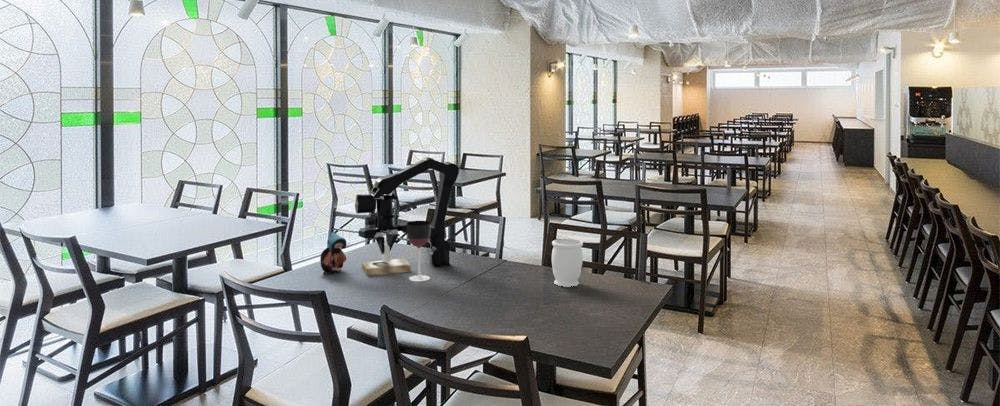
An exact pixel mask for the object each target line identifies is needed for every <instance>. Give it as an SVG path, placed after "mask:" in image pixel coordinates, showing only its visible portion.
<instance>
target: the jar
mask: <svg viewBox="0 0 1000 406" xmlns="http://www.w3.org/2000/svg"><path fill="white" fill-rule="evenodd" d="M551 245H552V246H553V248H552V251H551V266H552V274H553V276H554V281H553V283H554V285H555V284H556V285H555V286H557V285H558V286H557V287H561V286H563V288H574V287H573V286H575V287H578V286H579V285H580V282H579V279H580V276H581V271H582V267H583V261H584V258H583V250H582V247H583V246H584V242H583V241H582V240H579V239H574V238H573V239H572V238H560V239H559V238H558V239H554V240H552V241H551ZM578 284H579V285H578ZM571 286H572V287H571Z"/></svg>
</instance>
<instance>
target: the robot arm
mask: <svg viewBox="0 0 1000 406" xmlns="http://www.w3.org/2000/svg"><path fill="white" fill-rule="evenodd" d="M428 170H433V171H436V172H438V173H439V174H438V175H439V176H438V179H439V183H440V184H439V189H438V193H437V199H436V202H435V203H436V204H435V209H434V214H433V219H432V221H431V222H430V235H429V239H428V241H427V243H428V244H430V246H431V252H430V253H429V262H430V264H431V266H432V267H434V268H439V267H441V268H442V267H448V266H451V262H450V251H451V244H450V243H449V242H448V241H447V240H446V229H445V228H446V227H445V222H446V217H447V213H448V208H449V203H450V198H451V193H452V188H453V186H454V184H455V183H456V181H457V179H458V176H459V174H460V168H459V167H458V165H457V164H455V163H453V162H450V161H444V162H441V161H438V160H435V159H434V158H432V157H424V158H423V159H421V160H419V161H417V162H415V163H413V164H411V165H409V166H407V167H405V168H403V169H401V170H399V171H398V172H395V173H391V174H387V175H386V174H385V175H383V176H379V177H378V178H377V179H375V182H374V187H372V189H371V191H370V192H369V194H359V193H358V194H356V195H355V196H356V197H355V202H354V209H355V212H356V214H368V213H370V214H372V213H374V211H376V213H375V214H374V218H373V217H372V216H367V217H365V226H366V227H362V228H361V227H360V228H359V229H358V237H360V238H363V239H375V241H376V243H377V246H378V248H379V251H380V253H381V255H382V254H384V243H386V244H387V245H388V246H390V252H391V250H392V249H393V246H394V245H395V242H396V240H397V239H398V237H400V234H399V232H401V233H403V234H408V233H407V223H405V222H399V223H394V218H395V214H394V213H393V212H394V211H393V210H394V209H393V200H398V199H399V197H398V196H397V195H395V193H394V192H393V191H395V190H396V189H397V188H398V187H400V185H402V184H403V183H404V182H406V181H408V180H410V179H413V178H415V177H417V176H418V175H420V174H422V173H425V172H426V171H428ZM383 234H385V236H386V240H387V241H386V242H385V236H383Z"/></svg>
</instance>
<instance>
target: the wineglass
mask: <svg viewBox="0 0 1000 406" xmlns="http://www.w3.org/2000/svg"><path fill="white" fill-rule="evenodd" d="M406 224H407V233H406V234H407V238H408V241H409V243H410V244H411V245H413V246H414V247H416V248H417V269H418V271H417V272H418V275H412V276H409V277H408V279H409V281H412V282H426V281H428V280H430V279H431V277H430V276H428V275H425V274H424V275H422V274H421V248H422V247H423V246H425V245H426V244H427V243H428V242H427V241H428V239H429V235H430V225H431V222H430V221H427V220H410V221H408V222H406Z"/></svg>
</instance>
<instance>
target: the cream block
mask: <svg viewBox="0 0 1000 406" xmlns="http://www.w3.org/2000/svg"><path fill="white" fill-rule="evenodd" d="M390 253H391V251H390V246H388V245H387V242H384V254H382V253H381V259H382V260H384V262H374V263H372V264H379V263H385V264H386V263H388V262H389V261H390V260H391V256H390V255H391V254H390Z"/></svg>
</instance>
